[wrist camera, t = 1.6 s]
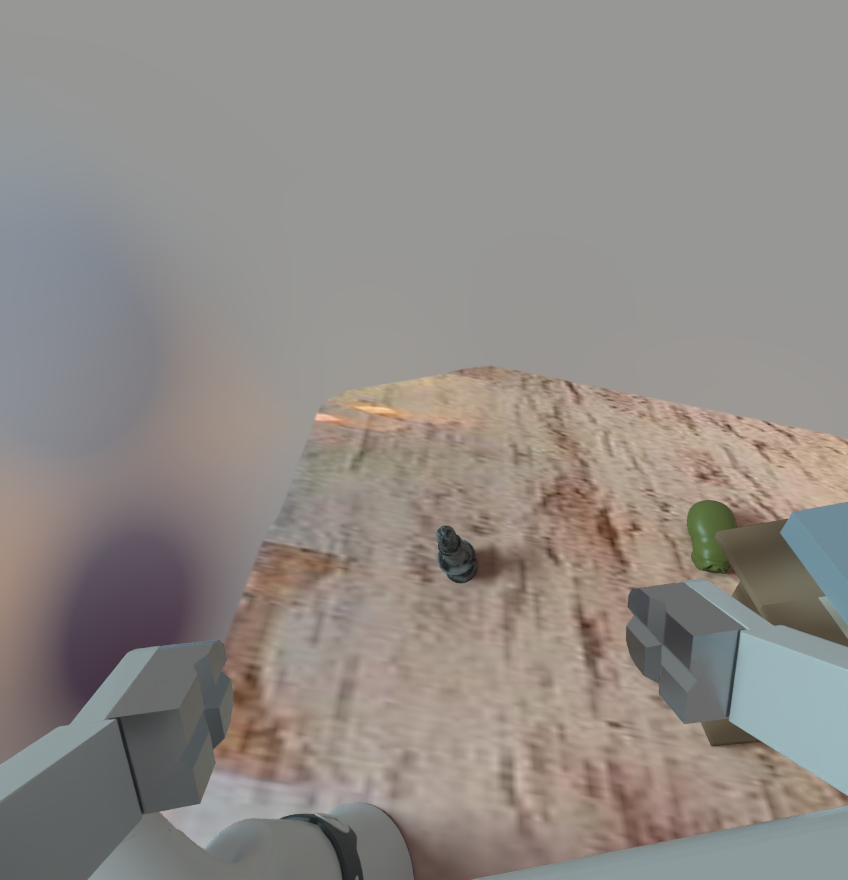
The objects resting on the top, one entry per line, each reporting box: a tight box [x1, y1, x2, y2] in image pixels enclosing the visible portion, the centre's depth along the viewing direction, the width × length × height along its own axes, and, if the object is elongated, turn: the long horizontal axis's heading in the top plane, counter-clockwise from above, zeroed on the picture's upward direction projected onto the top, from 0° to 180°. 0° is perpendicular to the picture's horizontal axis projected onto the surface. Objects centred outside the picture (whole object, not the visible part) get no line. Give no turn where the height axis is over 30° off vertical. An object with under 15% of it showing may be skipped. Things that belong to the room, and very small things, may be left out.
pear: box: [687, 500, 737, 574], centre depth 56 cm, size 6×5×10 cm
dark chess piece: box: [436, 526, 478, 583], centre depth 62 cm, size 6×6×12 cm
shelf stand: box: [701, 519, 848, 746], centre depth 36 cm, size 17×14×26 cm
